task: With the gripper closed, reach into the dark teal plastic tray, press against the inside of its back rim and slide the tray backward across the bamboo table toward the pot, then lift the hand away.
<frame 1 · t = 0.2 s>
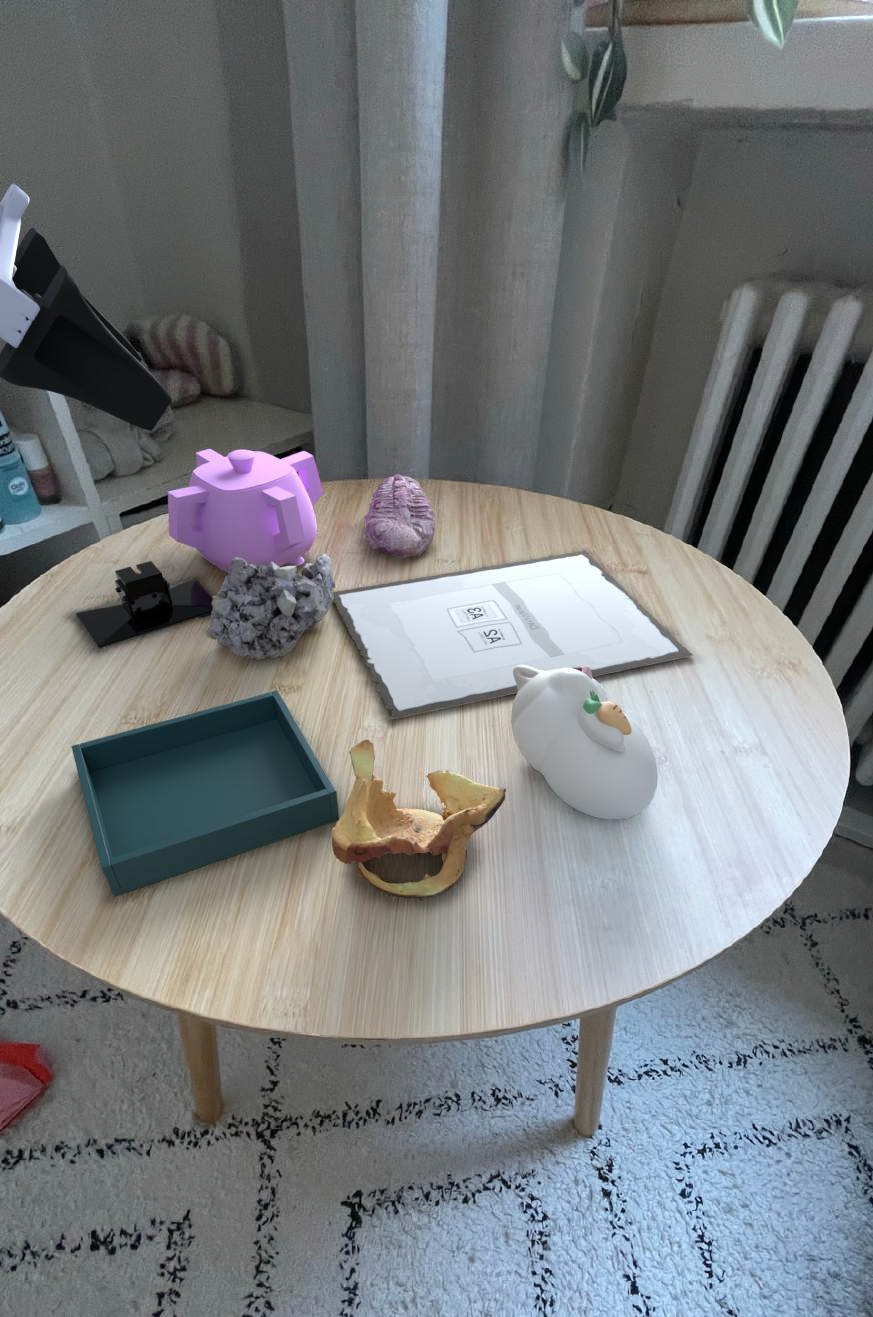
hand: (145, 391, 43), 27 cm above the table, tool tilted 45°, fingers open, 7 cm apart
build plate: (150, 614, 77), on the table
bone: (412, 856, 55), on the table
mineral specimen: (277, 641, 74), on the table
pot: (257, 561, 85), on the table
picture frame: (502, 625, 76), on the table
cat figurine: (570, 776, 61), on the table
tray: (208, 796, 58), on the table
fossil: (400, 535, 90), on the table
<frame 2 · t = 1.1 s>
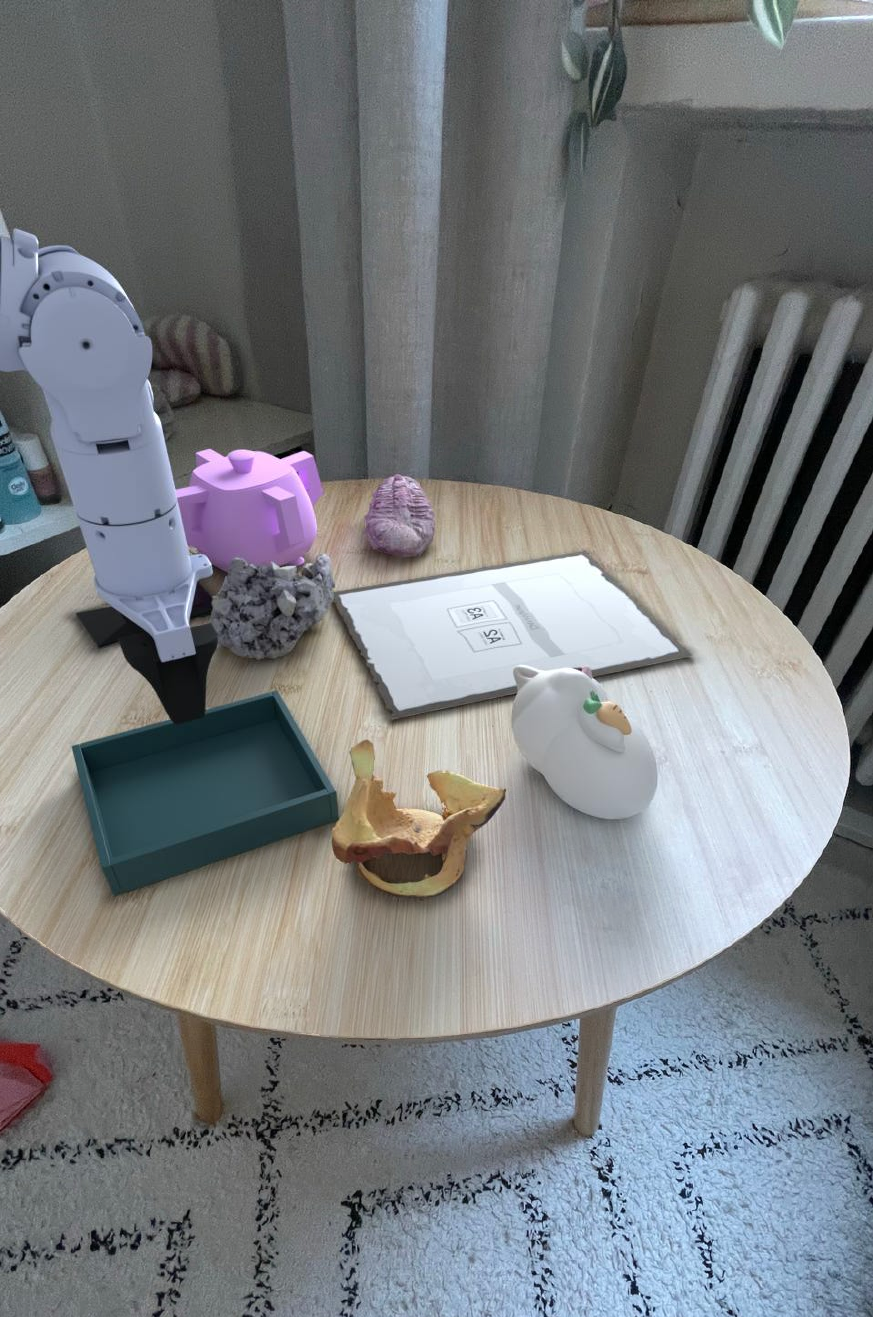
hand: (176, 690, 54), 8 cm above the table, tool pointing down, fingers open, 6 cm apart
nothing on the table moved.
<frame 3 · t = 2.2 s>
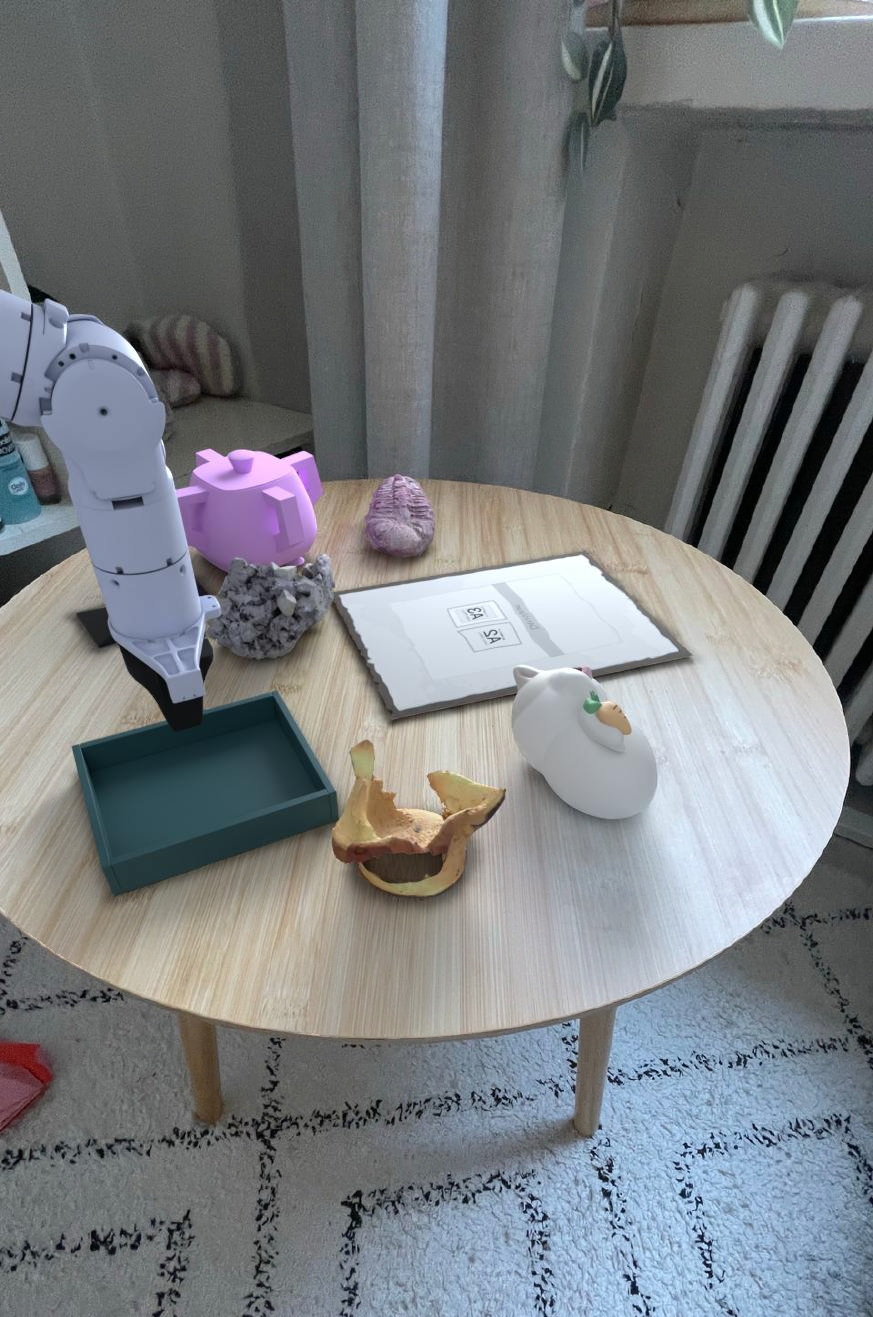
hand: (186, 723, 56), 5 cm above the table, tool pointing down, fingers closed
nothing on the table moved.
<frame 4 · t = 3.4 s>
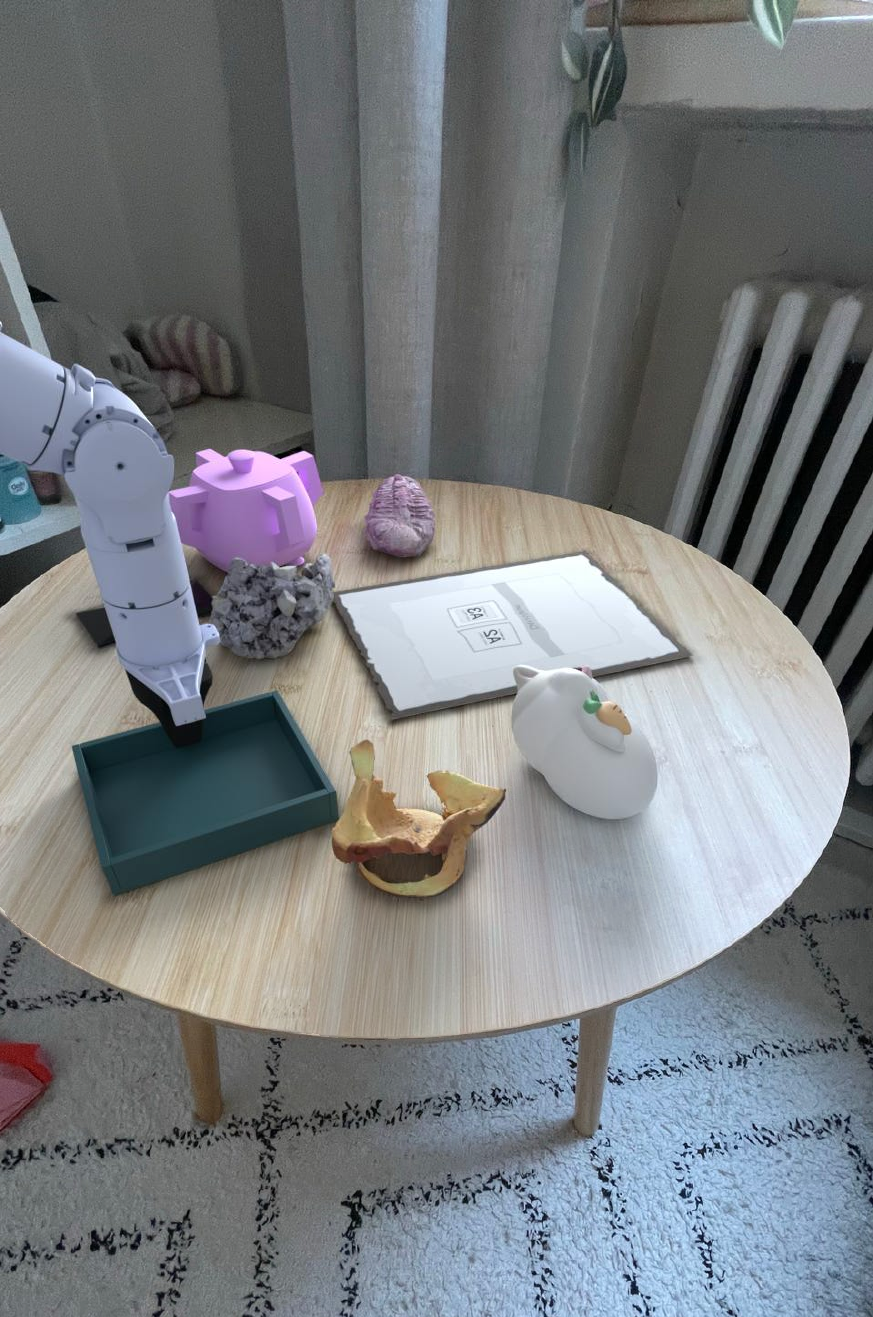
hand: (187, 740, 61), 2 cm above the table, tool pointing down, fingers closed
tray: (207, 796, 58), on the table, touching gripper
everything else where it was.
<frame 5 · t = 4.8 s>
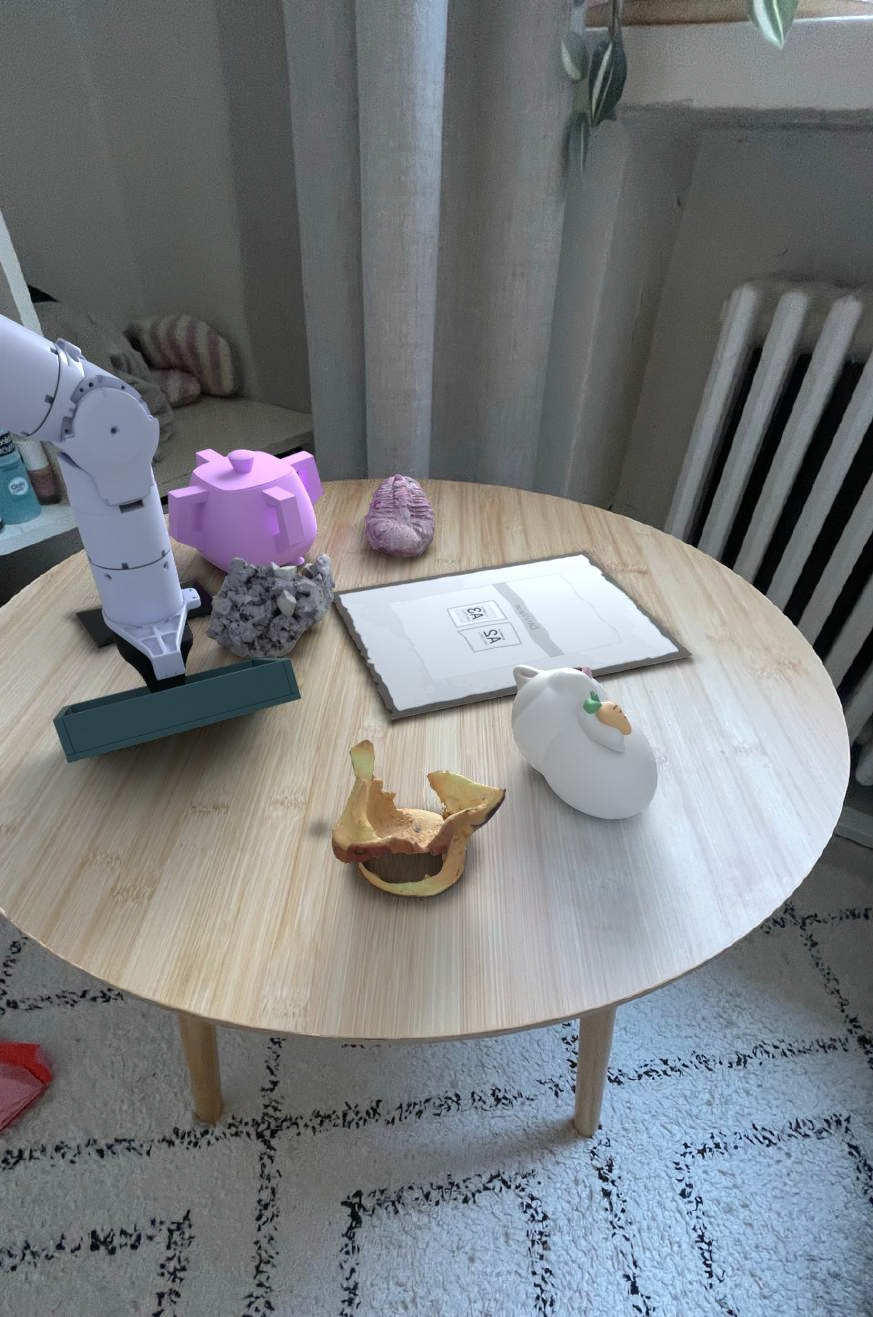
hand: (171, 700, 64), 2 cm above the table, tool pointing down, fingers closed
tray: (182, 721, 59), point 3 cm above the table, tilted 32°, touching gripper
everything else where it was.
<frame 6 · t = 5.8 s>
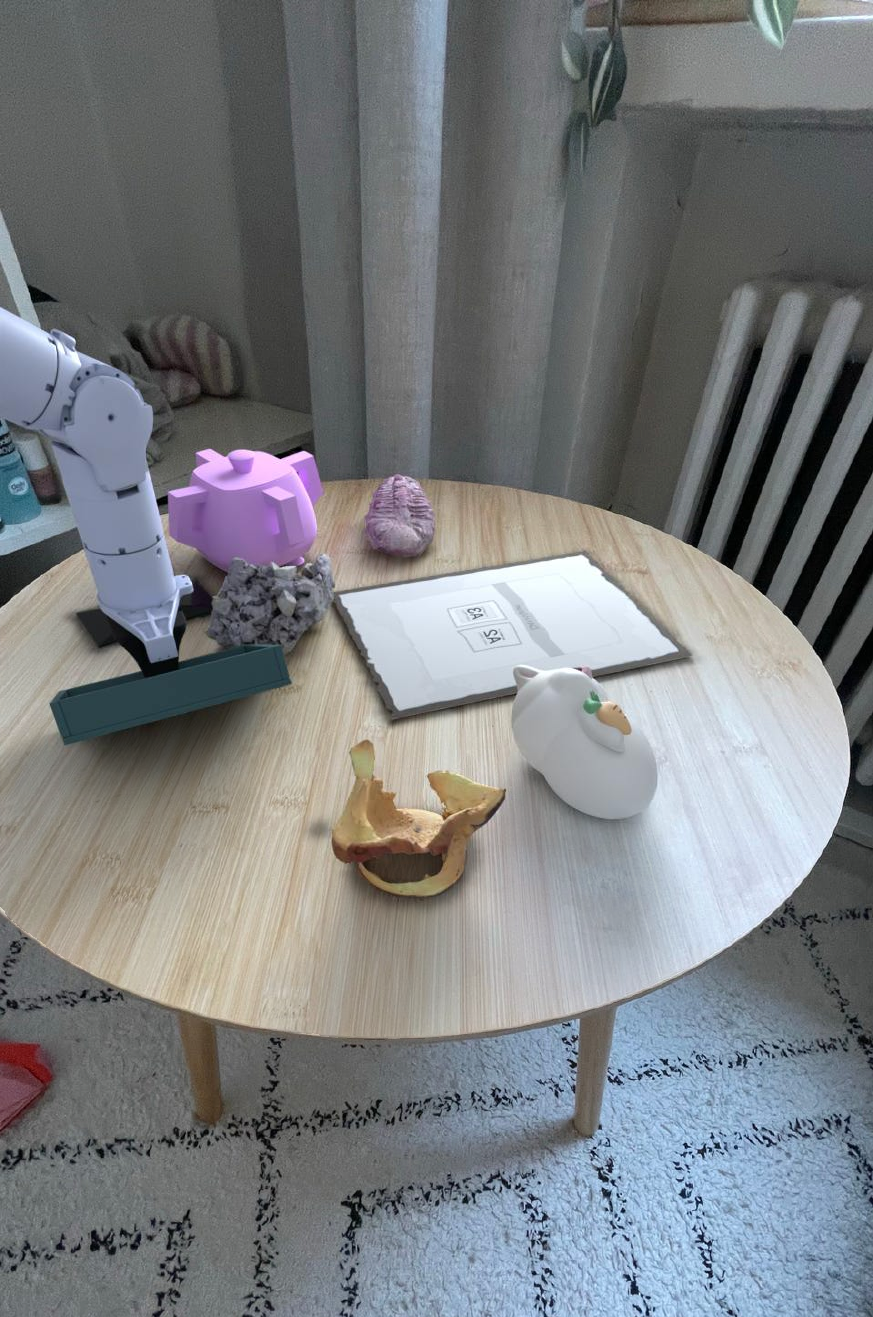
hand: (165, 686, 66), 2 cm above the table, tool pointing down, fingers closed
tray: (175, 706, 61), point 3 cm above the table, tilted 31°, touching gripper
everything else where it was.
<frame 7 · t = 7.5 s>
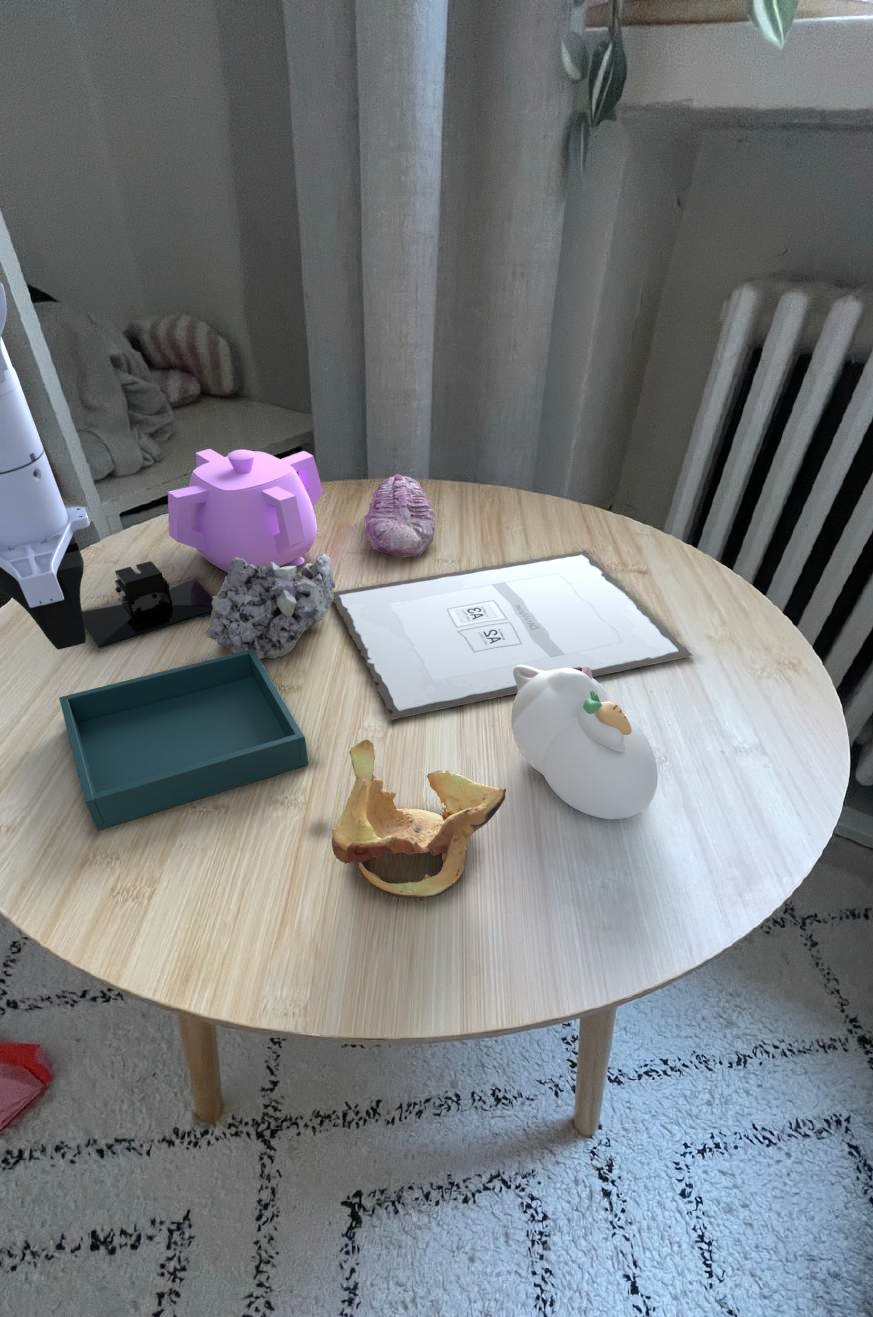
hand: (70, 641, 56), 9 cm above the table, tool pointing down, fingers closed
tray: (186, 744, 63), on the table
everything else where it was.
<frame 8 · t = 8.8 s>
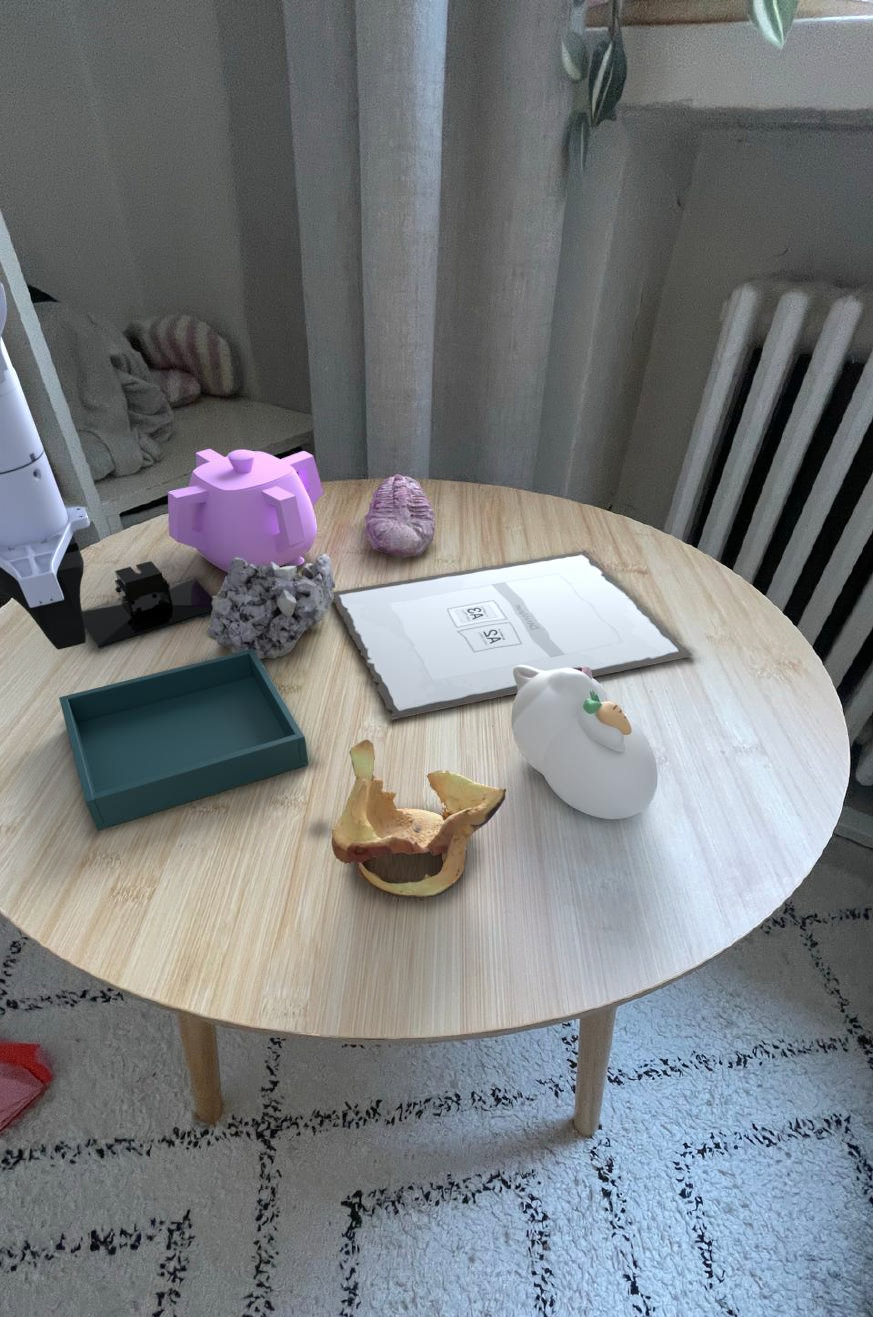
hand: (70, 641, 56), 9 cm above the table, tool pointing down, fingers closed
nothing on the table moved.
at the end: tray inside the target area (1.4 cm from its centre), on the table; tray 31.0 cm from the pot (horizontally); tray tilted 0° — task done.
